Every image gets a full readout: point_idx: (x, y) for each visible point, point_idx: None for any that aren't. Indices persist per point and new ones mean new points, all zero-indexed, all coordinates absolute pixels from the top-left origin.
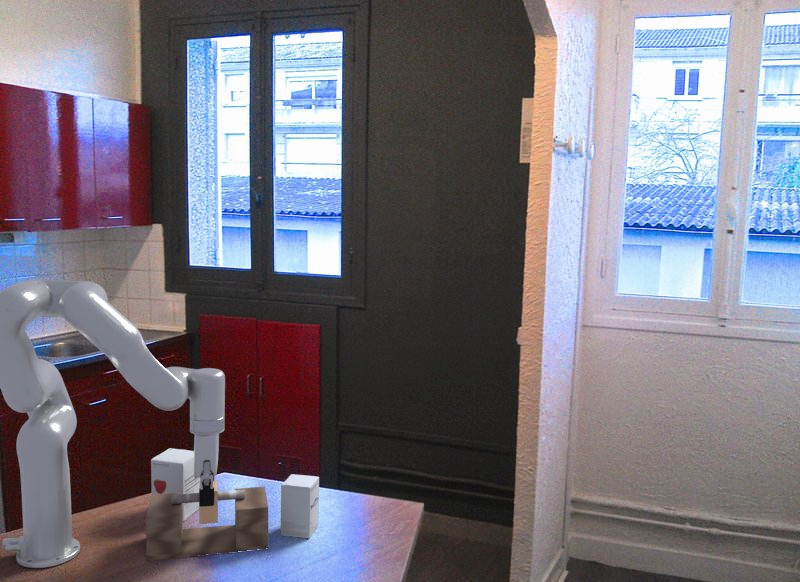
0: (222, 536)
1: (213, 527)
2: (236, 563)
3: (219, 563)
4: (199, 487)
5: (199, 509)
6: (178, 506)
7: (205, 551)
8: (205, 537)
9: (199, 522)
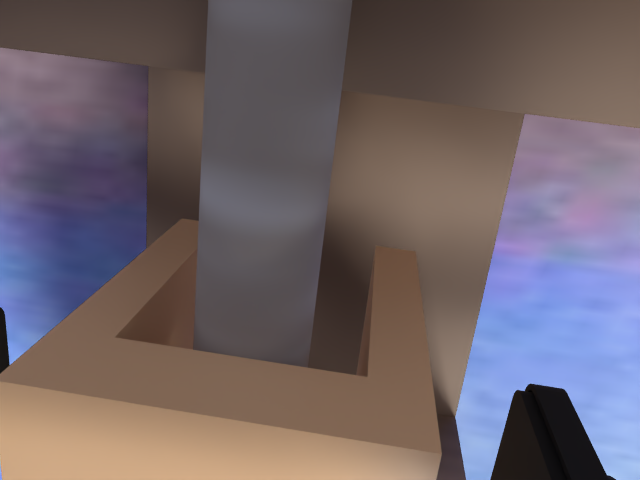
0: (315, 323)
1: (467, 293)
2: (40, 330)
3: (53, 252)
4: (187, 415)
5: (121, 271)
6: (177, 39)
7: (149, 200)
8: (334, 225)
9: (176, 224)
